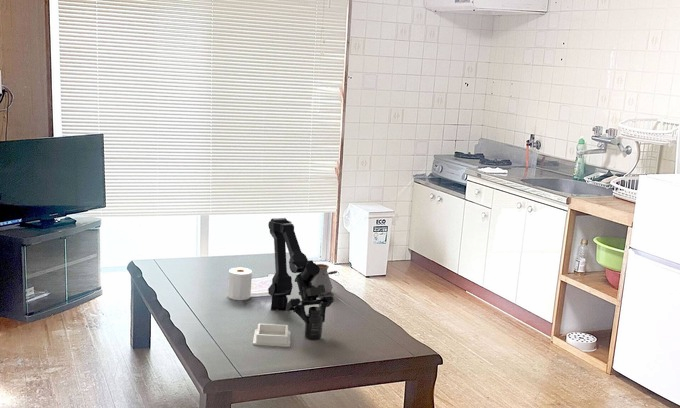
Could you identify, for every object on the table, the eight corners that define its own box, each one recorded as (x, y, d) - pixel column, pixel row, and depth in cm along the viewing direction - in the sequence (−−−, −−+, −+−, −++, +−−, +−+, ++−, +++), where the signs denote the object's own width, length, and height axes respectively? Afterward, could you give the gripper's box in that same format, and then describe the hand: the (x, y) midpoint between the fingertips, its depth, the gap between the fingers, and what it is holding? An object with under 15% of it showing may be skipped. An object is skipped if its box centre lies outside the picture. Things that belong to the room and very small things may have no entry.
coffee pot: (303, 289, 344) (305, 258, 341) (325, 287, 349) (327, 257, 346) (323, 304, 326) (325, 272, 323) (346, 302, 331) (348, 270, 328)
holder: (252, 344, 276) (253, 335, 275) (254, 330, 290) (255, 322, 289) (289, 346, 277) (290, 337, 276) (290, 332, 291) (290, 324, 290)
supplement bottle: (324, 336, 290) (326, 307, 288) (318, 342, 284) (320, 312, 281) (308, 332, 292) (310, 304, 290) (301, 338, 286) (303, 309, 283)
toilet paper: (235, 301, 320) (237, 275, 318) (223, 294, 328) (224, 269, 325) (255, 298, 327) (256, 272, 324) (242, 291, 334) (243, 266, 332)
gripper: (291, 279, 282) (301, 316, 275) (333, 276, 291) (344, 311, 284) (281, 292, 290) (291, 328, 283) (323, 288, 299) (333, 323, 292)
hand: (315, 322), depth 285 cm, fingers closed on supplement bottle, 7 cm apart
